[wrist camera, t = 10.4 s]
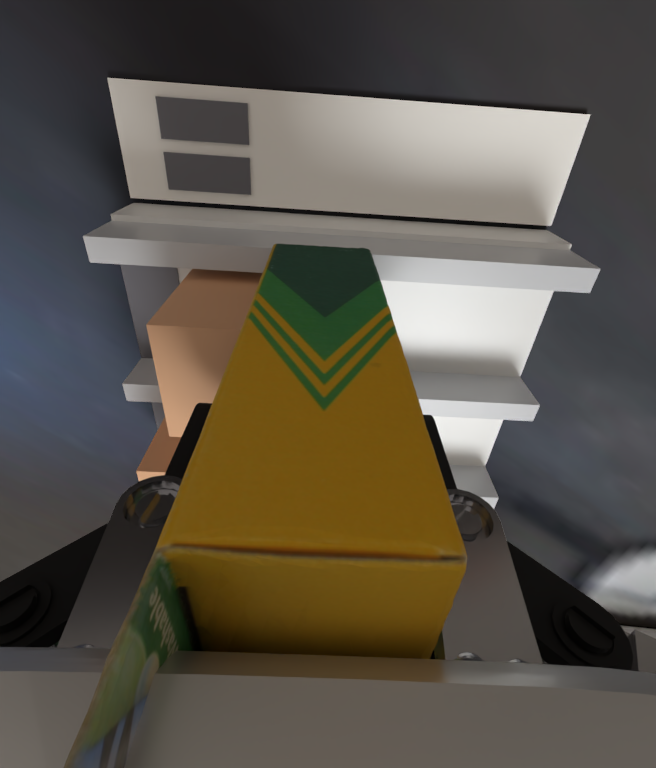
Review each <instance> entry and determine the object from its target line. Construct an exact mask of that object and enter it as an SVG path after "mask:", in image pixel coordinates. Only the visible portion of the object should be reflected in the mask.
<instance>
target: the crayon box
mask: <svg viewBox="0 0 656 768" xmlns="http://www.w3.org/2000/svg"><path fill="white" fill-rule="evenodd" d="M466 565H467V554H466V550H465V546H464V543H463V540H462V537H461V534H460V531H459V528H458V525H457V523H456V520H455V516H454V513H453V509H452V506H451V503H450V499H449V496H448V492H447V489H446V486H445V483H444V480H443V477H442V473H441V470H440V467H439V464H438V461H437V458H436V454H435V451H434V448H433V445H432V442H431V439H430V436H429V433H428V430H427V428H426V424H425V421H424V417H423V413H422V410H421V406H420V403H419V399H418V397H417V393H416V390H415V387H414V384H413V381H412V378H411V374H410V371H409V367H408V364H407V361H406V358H405V356H404V353H403V348H402V345H401V342H400V340H399V337H398V334H397V331H396V327H395V324H394V322H393V318H392V315H391V311H390V308H389V306H388V303H387V299H386V296H385V293H384V290H383V286H382V283H381V281H380V277H379V274H378V271H377V268H376V266H375V263H374V260H373V257H372V254H371V251H370V250H369V249H366V248H343V247H328V246H314V245H295V244H274V245H273V247H272V250H271V252H270V255H269V258H268V261H267V263H266V266H265V269H264V271H263V273H262V276H261V278H260V281H259V284H258V286H257V289H256V291H255V294H254V297H253V300H252V303H251V305H250V308H249V311H248V313H247V316H246V319H245V321H244V324H243V326H242V329H241V331H240V333H239V336H238V339H237V342H236V344H235V346H234V349H233V351H232V354H231V357H230V359H229V362H228V364H227V367H226V369H225V372H224V375H223V377H222V380H221V382H220V385H219V388H218V390H217V393H216V395H215V398H214V400H213V403H212V405H211V408H210V410H209V413H208V415H207V418H206V421H205V424H204V426H203V429H202V432H201V435H200V437H199V440H198V442H197V444H196V447H195V449H194V452H193V454H192V456H191V459H190V461H189V464H188V466H187V469H186V471H185V474H184V477H183V479H182V482H181V485H180V487H179V490H178V493H177V496H176V498H175V501H174V503H173V506H172V508H171V510H170V513H169V515H168V518H167V520H166V522H165V525H164V527H163V530H162V532H161V535H160V538H159V540H158V543H157V546H156V548H155V551H154V553H153V555H152V557H151V560H150V562H149V564H148V566H147V569H146V571H145V574H144V576H143V578H142V581H141V583H140V586H139V588H138V591H137V593H136V595H135V598H134V600H133V602H132V605H131V607H130V609H129V612H128V614H127V616H126V618H125V620H124V622H123V624H122V626H121V628H120V630H119V632H118V634H117V636H116V638H115V641H114V643H113V645H112V647H111V650H110V652H109V654H108V656H107V659H106V662H105V665H104V668H103V671H102V674H101V676H100V679H99V682H98V685H97V688H96V690H95V693H94V696H93V698H92V701H91V704H90V706H89V709H88V712H87V714H86V716H85V718H84V721H83V723H82V725H81V727H80V730H79V732H78V734H77V737H76V739H75V741H74V743H73V746H72V748H71V750H70V752H69V755H68V757H67V760H66V763H65V765H64V768H124V767H125V764H126V761H127V757H128V754H129V751H130V748H131V745H132V742H133V739H134V736H135V733H136V730H137V727H138V724H139V721H140V718H141V715H142V712H143V709H144V705H145V702H146V699H147V696H148V693H149V690H150V687H151V684H152V681H153V678H154V675H155V673H156V672H157V671H158V669H159V668H160V667H161V666H162V665H163V663H164V662H165V661H166V660H167V658H168V657H170V656H171V655H172V654H173V653H174V652H175V651H208V652H240V653H270V654H300V655H329V656H358V657H386V658H412V659H430V657H431V654H432V652H433V650H434V648H435V646H436V644H437V641H438V638H439V635H440V633H441V631H442V629H443V626H444V623H445V620H446V618H447V616H448V614H449V612H450V610H451V608H452V605H453V601H454V598H455V595H456V593H457V591H458V589H459V586H460V583H461V581H462V579H463V576H464V574H465V572H466Z"/></svg>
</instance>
